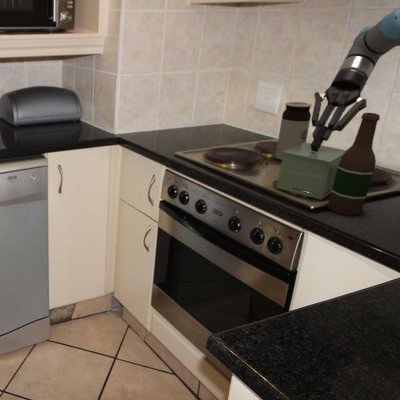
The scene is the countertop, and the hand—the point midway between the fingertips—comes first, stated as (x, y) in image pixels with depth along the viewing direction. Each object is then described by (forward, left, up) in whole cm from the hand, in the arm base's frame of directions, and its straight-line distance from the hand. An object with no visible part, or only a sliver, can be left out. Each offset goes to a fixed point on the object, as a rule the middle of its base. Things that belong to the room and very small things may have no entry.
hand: (313, 148), depth 126 cm
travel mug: (+21, -20, -12) cm, 31 cm away
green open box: (+1, -2, -12) cm, 12 cm away
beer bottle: (-13, +3, -12) cm, 18 cm away
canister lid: (+1, -2, -2) cm, 3 cm away
